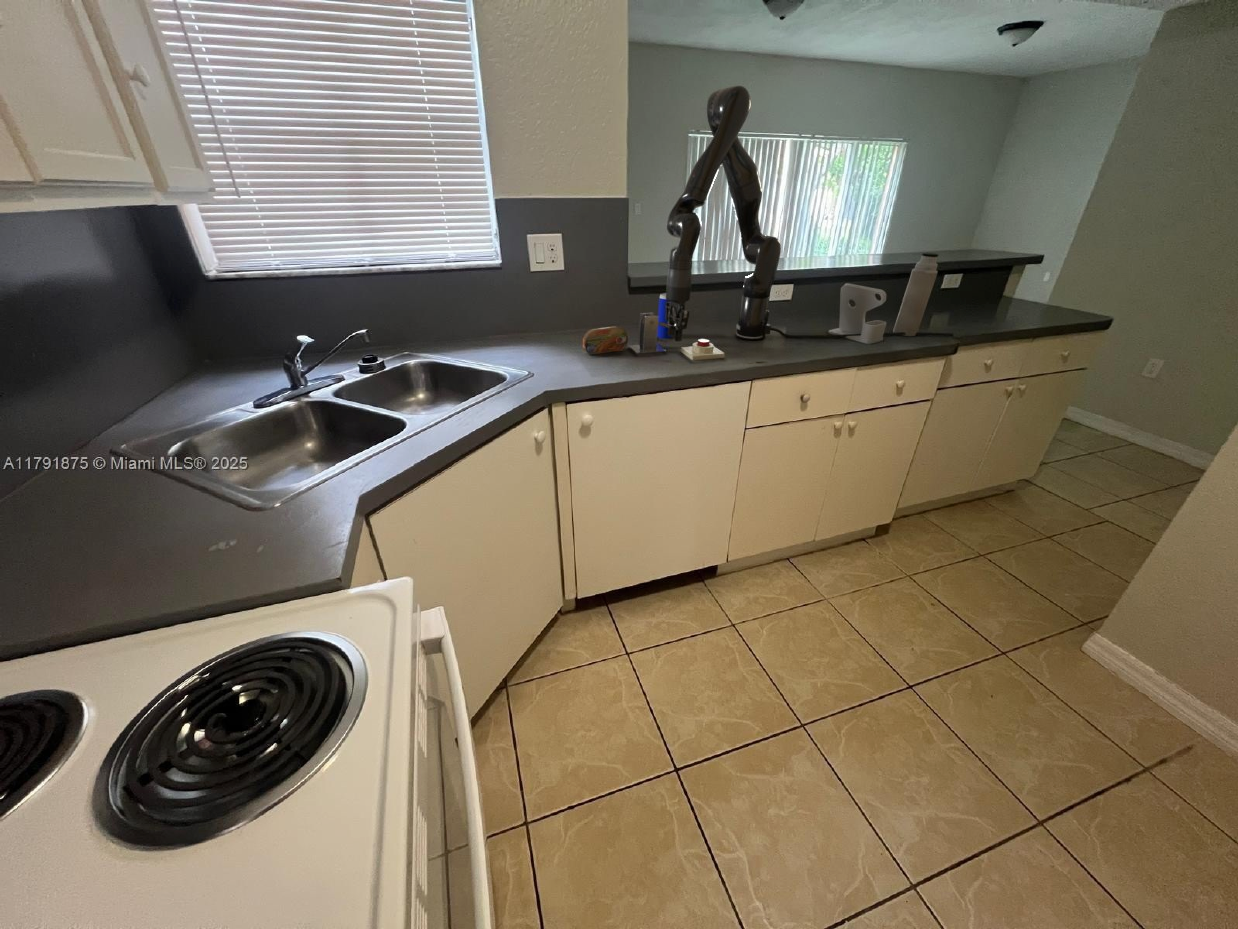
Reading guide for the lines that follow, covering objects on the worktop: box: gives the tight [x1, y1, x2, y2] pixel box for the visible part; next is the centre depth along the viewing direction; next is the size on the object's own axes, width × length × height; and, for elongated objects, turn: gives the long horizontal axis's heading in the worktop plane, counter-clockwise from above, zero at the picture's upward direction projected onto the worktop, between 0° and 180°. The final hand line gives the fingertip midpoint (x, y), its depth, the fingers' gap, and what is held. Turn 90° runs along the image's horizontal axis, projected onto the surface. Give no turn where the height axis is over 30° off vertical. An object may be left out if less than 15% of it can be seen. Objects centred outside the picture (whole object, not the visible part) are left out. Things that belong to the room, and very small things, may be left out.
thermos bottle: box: [892, 252, 939, 337], centre depth 176 cm, size 8×8×28 cm
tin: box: [582, 325, 629, 356], centre depth 152 cm, size 15×3×8 cm, turn 117°
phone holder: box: [828, 282, 887, 345], centre depth 174 cm, size 17×10×18 cm, turn 34°
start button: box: [697, 338, 711, 347], centre depth 152 cm, size 4×4×2 cm
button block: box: [680, 341, 726, 361], centre depth 153 cm, size 11×9×4 cm
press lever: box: [643, 315, 676, 330], centre depth 154 cm, size 12×5×2 cm, turn 109°
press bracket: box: [628, 312, 667, 355], centre depth 155 cm, size 10×8×12 cm
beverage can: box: [657, 292, 673, 340], centre depth 167 cm, size 5×5×15 cm
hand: (674, 338), depth 158 cm, fingers closed on press lever, 5 cm apart
